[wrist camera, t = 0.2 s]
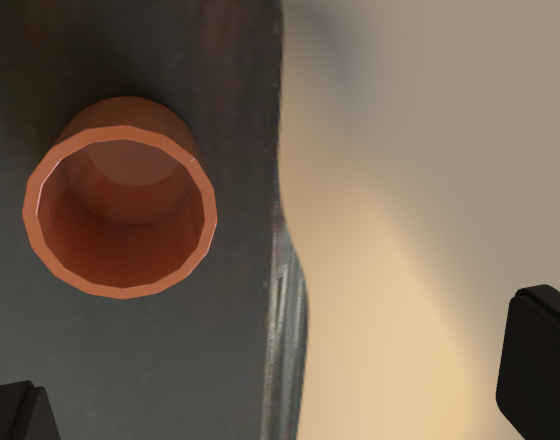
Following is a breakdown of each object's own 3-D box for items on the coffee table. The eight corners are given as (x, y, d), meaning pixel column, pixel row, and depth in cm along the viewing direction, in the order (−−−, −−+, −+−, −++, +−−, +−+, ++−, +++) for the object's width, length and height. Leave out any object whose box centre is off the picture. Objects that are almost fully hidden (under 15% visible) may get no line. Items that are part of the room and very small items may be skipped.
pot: (41, 103, 23) (-2, 138, 16) (191, 89, 24) (205, 116, 18) (75, 238, 25) (49, 312, 19) (208, 218, 27) (225, 282, 20)
